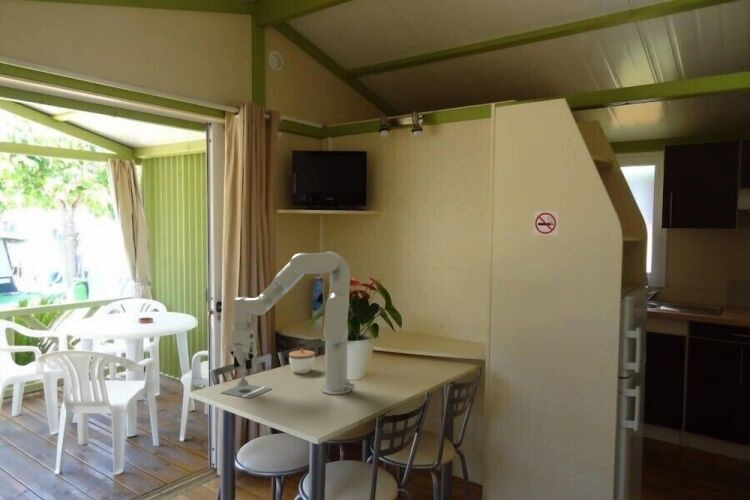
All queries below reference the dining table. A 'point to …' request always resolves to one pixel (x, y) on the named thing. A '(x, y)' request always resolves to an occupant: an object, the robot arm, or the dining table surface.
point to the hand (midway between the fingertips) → (242, 367)
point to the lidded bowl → (302, 360)
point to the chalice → (241, 360)
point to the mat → (246, 391)
